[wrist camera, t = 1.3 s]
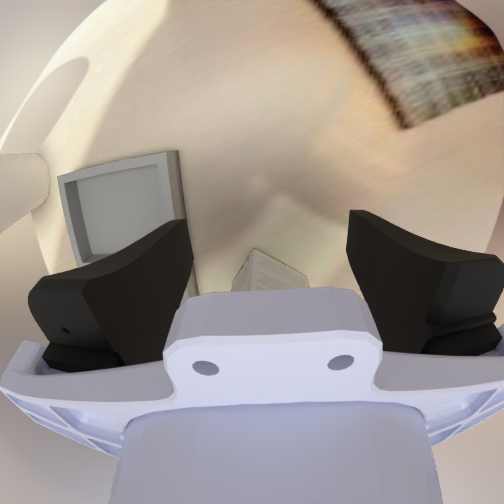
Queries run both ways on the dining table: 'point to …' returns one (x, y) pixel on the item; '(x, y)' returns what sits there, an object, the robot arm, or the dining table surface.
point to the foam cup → (21, 186)
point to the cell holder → (122, 205)
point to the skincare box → (267, 275)
